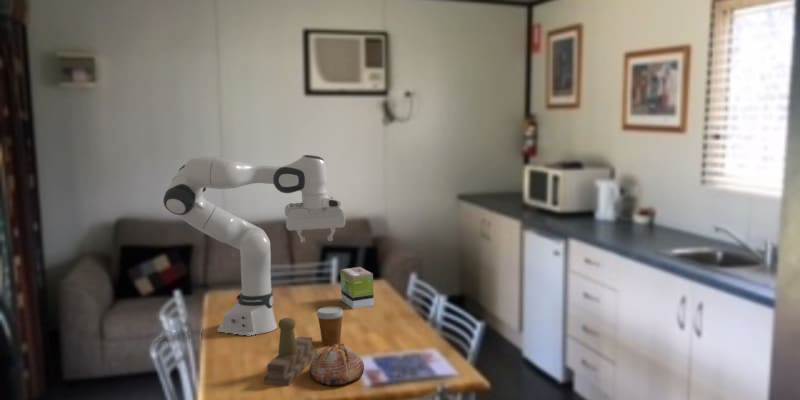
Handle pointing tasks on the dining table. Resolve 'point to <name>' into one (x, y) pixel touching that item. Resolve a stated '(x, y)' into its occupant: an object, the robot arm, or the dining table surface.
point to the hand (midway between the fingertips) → (316, 241)
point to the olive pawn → (287, 337)
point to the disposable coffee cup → (330, 324)
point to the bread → (336, 365)
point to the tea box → (357, 287)
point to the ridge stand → (290, 363)
